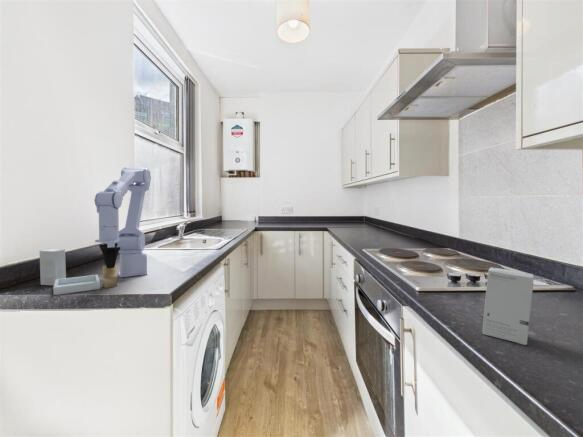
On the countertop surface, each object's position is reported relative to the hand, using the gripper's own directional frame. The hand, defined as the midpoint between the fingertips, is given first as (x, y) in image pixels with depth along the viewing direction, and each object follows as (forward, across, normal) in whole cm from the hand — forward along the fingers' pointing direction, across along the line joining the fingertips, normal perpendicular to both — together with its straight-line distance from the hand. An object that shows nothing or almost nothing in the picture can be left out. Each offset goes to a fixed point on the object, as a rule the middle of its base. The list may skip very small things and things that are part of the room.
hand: (109, 265), depth 99 cm
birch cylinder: (+7, 0, 0) cm, 7 cm away
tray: (+7, -4, -9) cm, 12 cm away
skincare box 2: (+8, +94, +69) cm, 117 cm away
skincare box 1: (+7, -14, -16) cm, 22 cm away
